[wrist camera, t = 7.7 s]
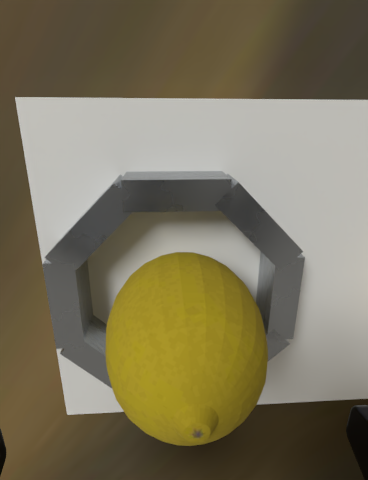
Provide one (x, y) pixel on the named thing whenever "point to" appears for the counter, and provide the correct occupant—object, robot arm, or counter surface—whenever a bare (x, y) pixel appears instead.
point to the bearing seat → (166, 200)
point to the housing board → (219, 215)
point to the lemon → (186, 349)
